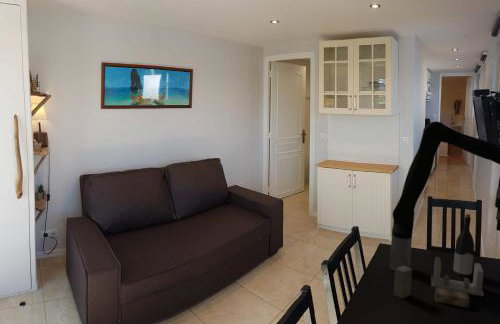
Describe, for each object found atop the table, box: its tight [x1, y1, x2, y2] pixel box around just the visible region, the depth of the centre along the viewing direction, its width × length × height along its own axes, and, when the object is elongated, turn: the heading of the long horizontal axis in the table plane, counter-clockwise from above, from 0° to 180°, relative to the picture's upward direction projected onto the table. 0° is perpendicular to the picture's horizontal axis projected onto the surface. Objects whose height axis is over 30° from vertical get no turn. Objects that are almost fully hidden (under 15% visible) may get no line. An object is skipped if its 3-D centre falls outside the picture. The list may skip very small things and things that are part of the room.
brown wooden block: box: [434, 287, 470, 309], centre depth 149 cm, size 12×5×4 cm, turn 66°
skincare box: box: [393, 265, 413, 299], centre depth 154 cm, size 6×4×12 cm
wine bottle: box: [452, 213, 475, 278], centre depth 172 cm, size 8×8×30 cm
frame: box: [430, 256, 485, 297], centre depth 161 cm, size 20×9×11 cm, turn 65°
